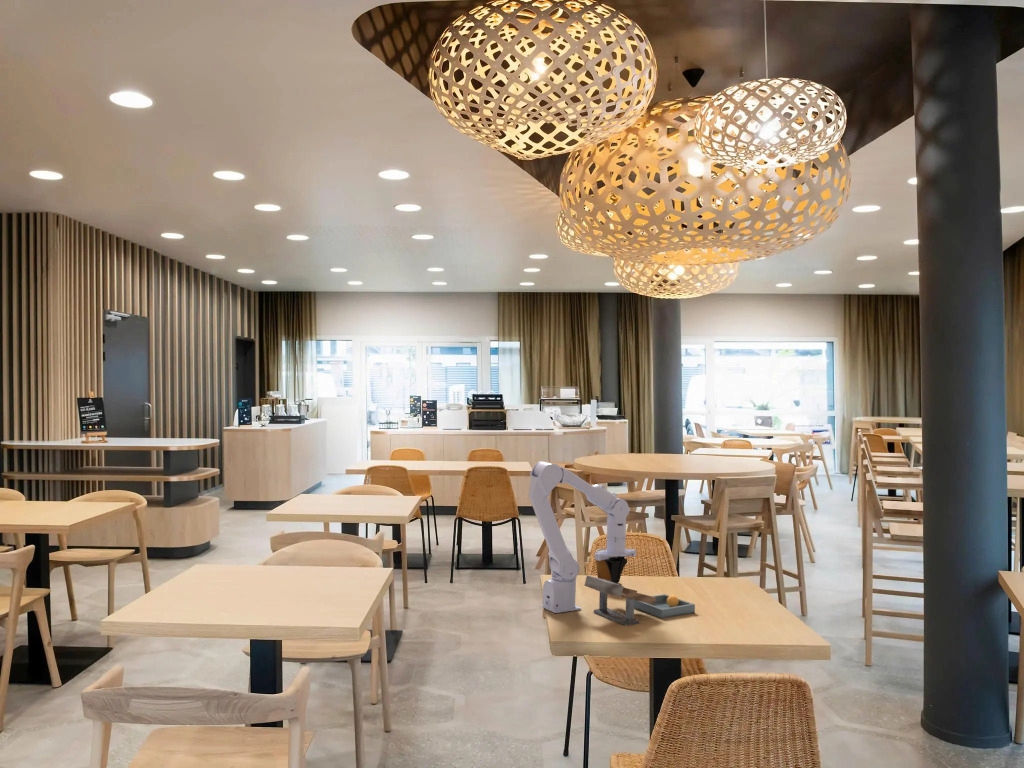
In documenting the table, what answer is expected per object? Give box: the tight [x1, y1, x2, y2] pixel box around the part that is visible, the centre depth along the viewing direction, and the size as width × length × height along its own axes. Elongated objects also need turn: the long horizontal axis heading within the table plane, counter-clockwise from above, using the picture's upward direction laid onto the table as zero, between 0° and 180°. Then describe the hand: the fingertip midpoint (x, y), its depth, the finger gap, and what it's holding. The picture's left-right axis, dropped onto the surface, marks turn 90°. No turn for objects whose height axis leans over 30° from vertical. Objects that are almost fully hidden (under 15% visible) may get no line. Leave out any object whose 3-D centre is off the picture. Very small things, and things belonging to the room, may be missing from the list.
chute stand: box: [593, 591, 640, 626], centre depth 225 cm, size 5×15×7 cm, turn 31°
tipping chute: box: [583, 575, 656, 605], centre depth 230 cm, size 20×17×3 cm
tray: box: [634, 593, 696, 619], centre depth 235 cm, size 13×13×2 cm
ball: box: [667, 595, 679, 607], centre depth 237 cm, size 4×4×4 cm
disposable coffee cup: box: [594, 548, 619, 583], centre depth 261 cm, size 10×10×12 cm
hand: (615, 581), depth 239 cm, fingers closed
